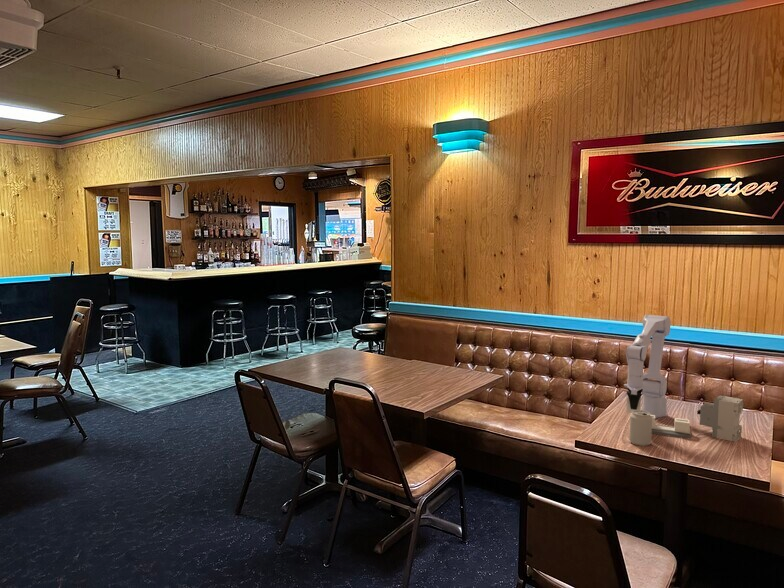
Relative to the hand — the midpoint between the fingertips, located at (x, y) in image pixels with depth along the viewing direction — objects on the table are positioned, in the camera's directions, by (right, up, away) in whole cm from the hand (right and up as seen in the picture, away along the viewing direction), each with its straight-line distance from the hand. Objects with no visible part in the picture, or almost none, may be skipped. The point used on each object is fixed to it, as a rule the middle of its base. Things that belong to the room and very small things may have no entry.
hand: (634, 407), depth 214 cm
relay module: (0, -2, 0) cm, 2 cm away
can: (-5, -10, -16) cm, 20 cm away
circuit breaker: (+29, -9, -8) cm, 32 cm away
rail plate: (+10, -9, -4) cm, 14 cm away
